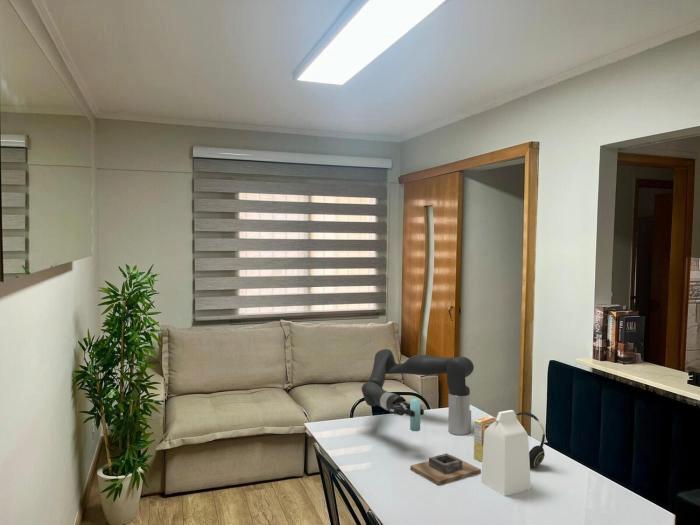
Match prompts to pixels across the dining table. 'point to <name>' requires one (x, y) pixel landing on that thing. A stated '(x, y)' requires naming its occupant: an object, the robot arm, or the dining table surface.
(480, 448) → the candy box
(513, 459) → the milk
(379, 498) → the dining table surface
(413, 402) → the teal peg
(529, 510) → the dining table surface
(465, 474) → the wooden peg socket board
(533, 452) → the headphones
